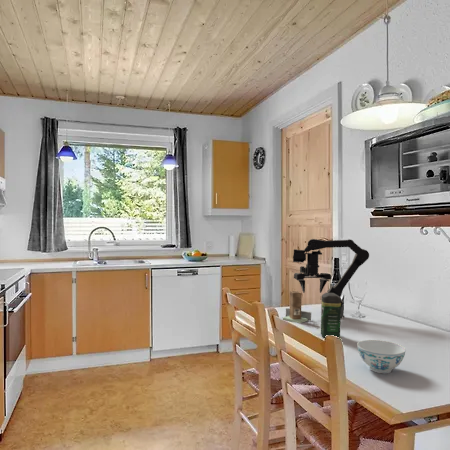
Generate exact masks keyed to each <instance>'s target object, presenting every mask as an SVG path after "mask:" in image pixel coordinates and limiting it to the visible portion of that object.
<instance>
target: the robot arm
mask: <svg viewBox="0 0 450 450" xmlns="http://www.w3.org/2000/svg"><path fill="white" fill-rule="evenodd" d="M327 248H331V249H332V248H349V249H350V250H352V252H354V253H355V254H354V257H353V259H352V262H351V263H350V265H349V267H348V268H347V269H346V271H344V273H343V275H342V276H341V277H340V279H339V280H338V282H337V283H336V284H335V285H332V284H331V285H330V288H329V289H328V290H327V292H326V293H335V294H336V295H338V296H339V297H340V298H341V296H342V293H343V291H344V289H345V287H346V286H347V285H348V283H349V282H350V281H351V279H352V278H353V276H354V274H355V273H356V272H357V271H358V269H359V268H360V267H361V266H362V265H364V263H366V262H367V261H368V260H369V258H370V252H369V251H368V250H367V249H365V248H361V246H359V245H358V244H356V242H354V240H352V239H349V238H348V239H340V240H339V239H337V240H330V239H329V240H322V239H317V238H312V239H309V240H308V242H307V245H306V247H304V249H295V248H294V249H293V256H292V263H304V262H305V261H306V265H305V266H303V265H302V266H300V267H299V272H294V274H293V279H295V280H297V281H298V282H299V284H300V287H301V290H302V293H303V294H305V292H306V280H305V279H319V293H322V292H323V290H324V287H325V285H326V284H327V282H329V281H330V280H332V274H330V273H328V272H319V268H320V265H319V256H321V255H323V253H322V252H321V250H322V249H327ZM344 307H345V305H344V302H343V299H341V319H343V318H345V317H346V316H345V315H344ZM342 317H343V318H342Z"/></svg>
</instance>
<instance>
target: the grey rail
mask: <svg viewBox="0 0 450 450" xmlns="http://www.w3.org/2000/svg"><path fill="white" fill-rule="evenodd" d="M289 314H290V307H289V308H288V307H287V308H285V317H287V316H289ZM301 317H302V318H307V319H308V321H310V322H311V321H312V312H311V311H305V310H301ZM308 321H307V322H308Z"/></svg>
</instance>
